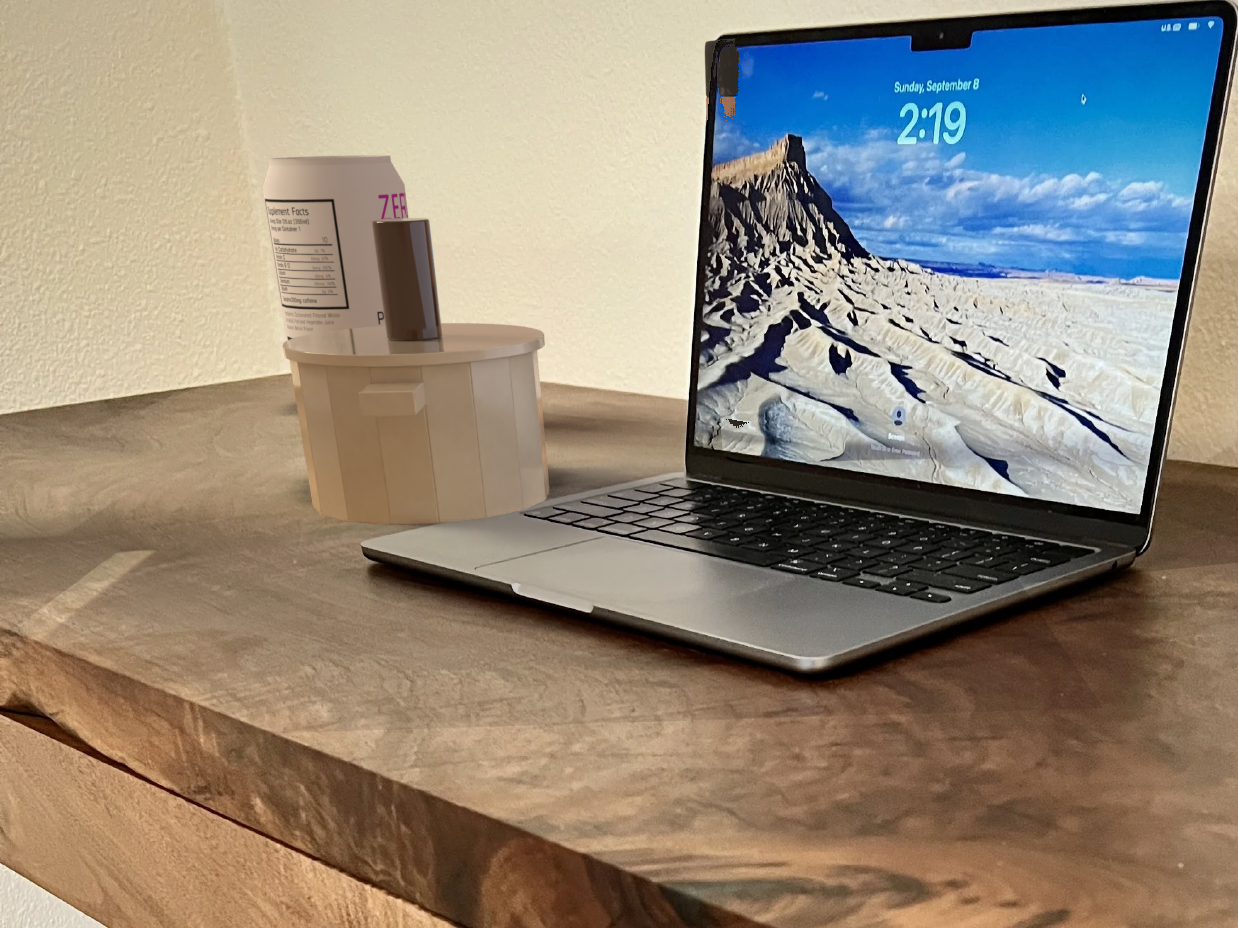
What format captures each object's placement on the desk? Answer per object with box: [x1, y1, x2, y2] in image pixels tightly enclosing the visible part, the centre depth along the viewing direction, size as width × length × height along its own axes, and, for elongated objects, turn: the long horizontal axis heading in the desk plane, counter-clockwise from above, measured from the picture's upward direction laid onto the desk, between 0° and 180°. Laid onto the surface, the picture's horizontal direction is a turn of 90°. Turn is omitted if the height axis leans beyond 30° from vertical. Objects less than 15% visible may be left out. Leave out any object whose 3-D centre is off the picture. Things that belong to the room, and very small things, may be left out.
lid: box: [282, 217, 546, 367], centre depth 75 cm, size 12×12×6 cm
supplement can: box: [261, 154, 410, 341], centre depth 99 cm, size 8×8×15 cm
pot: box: [289, 350, 550, 525], centre depth 78 cm, size 11×17×7 cm
